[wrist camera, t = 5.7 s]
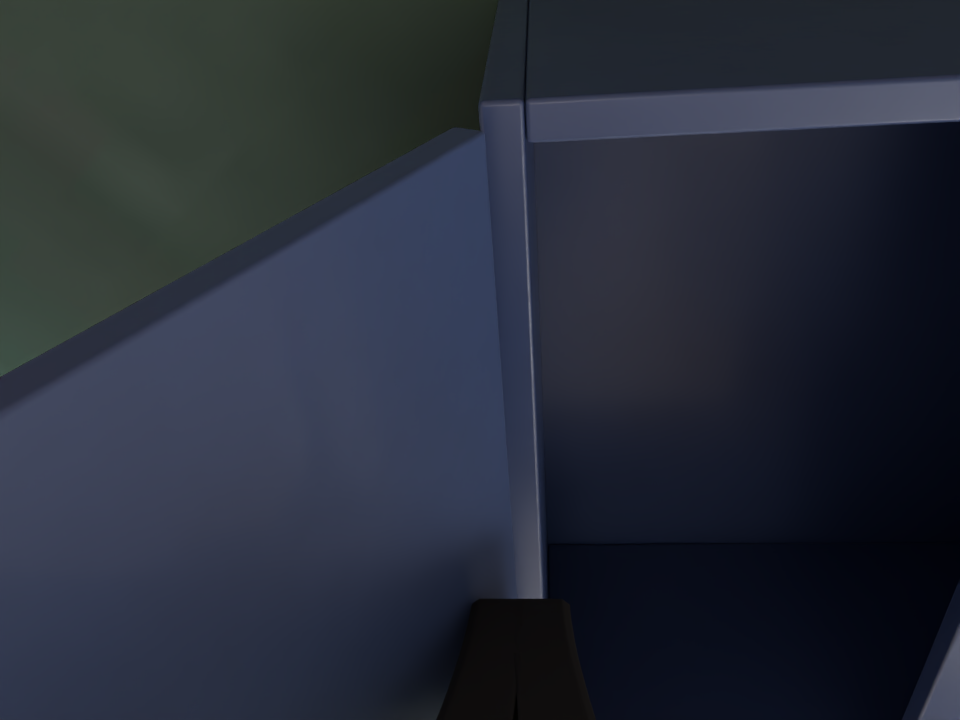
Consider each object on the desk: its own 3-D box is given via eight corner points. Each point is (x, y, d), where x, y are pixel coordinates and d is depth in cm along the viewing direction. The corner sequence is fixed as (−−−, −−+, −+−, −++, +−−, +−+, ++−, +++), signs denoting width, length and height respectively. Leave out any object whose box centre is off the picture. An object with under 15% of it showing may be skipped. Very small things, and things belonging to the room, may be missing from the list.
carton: (1031, 539, 21) (1233, 839, 15) (529, 542, 22) (526, 821, 16) (1315, -69, 13) (2019, 46, 7) (500, -13, 14) (471, 125, 8)
